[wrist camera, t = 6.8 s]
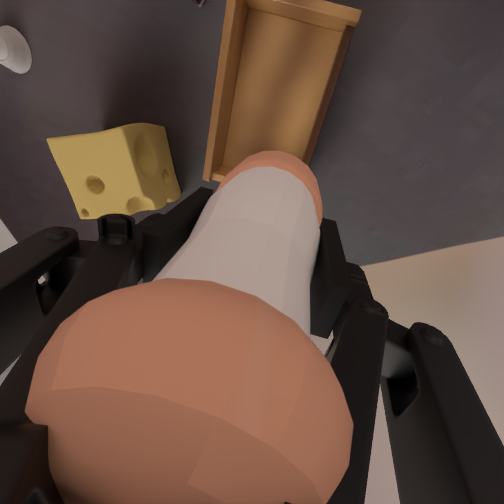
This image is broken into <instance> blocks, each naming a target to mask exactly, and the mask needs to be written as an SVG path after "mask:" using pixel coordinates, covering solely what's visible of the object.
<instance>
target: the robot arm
mask: <svg viewBox="0 0 504 504" xmlns="http://www.w3.org/2000/svg"><path fill="white" fill-rule="evenodd" d="M212 195H213V190H211V189H208V188H204V187H200V188H199V189H198V190H196V191H195V192H194V193H193V194H191V195H190V196H189V197H187V198H186V199H185V200H183V201H182V202H181V203H179V204H178V205H177V206H176V207H174V208H173V209H172V210H170V211H169V212H168V213H166V214H165V215H163V214H160V213H157V214H153V215H150V216H148V217H147V218H145V219H144V220H143V221H141V222H139V223H138V224H136V225H135V219H134V218H133V217H131V216H129V215H125V214H117V213H113V214H106V215H103V216H100V217H99V218H98V219H97V222H98V230H99V239H98V241H86V240H79V238H78V232H77V231H76V230H75V229H72V228H68V227H59V226H58V227H52V228H47V229H44V230H41V231H39V232H37V233H36V234H34V235H32V236H30V237H28V238H27V239H25V240H23V241H21V242H19V243H17V244H16V245H14V246H12V247H11V248H8V249H7V250H5V251H3V252H1V253H0V375H1V374H2V373H3V372H4V371H5V370H6V369H7V368H8V367H9V366H10V365H11V364H12V363H13V362H14V361H15V360H16V359H17V358H18V357H19V356H20V355H21V356H20V357H19V359H18V360H17V362H16V363H15V365H14V366H13V368H12V369H11V371H10V372H9V374H8V375H7V377H6V378H5V380H4V381H3V383H2V384H1V386H0V504H65V503H64V501H63V499H62V497H61V495H60V493H59V491H58V489H57V487H56V485H55V482H54V480H53V477H52V475H51V472H50V469H49V460H48V425H42V424H35V423H33V422H32V421H31V420H30V419H29V417H28V416H27V414H26V413H25V407H26V403H27V399H28V395H29V391H30V386H31V382H32V378H33V374H34V370H35V366H36V363H37V360H38V356H39V355H40V353H41V352H42V350H43V349H44V347H45V346H46V344H47V343H48V341H49V340H50V338H51V337H52V335H53V334H54V332H55V331H56V329H57V328H58V326H59V325H60V323H62V322H63V321H64V320H66V319H67V318H68V317H69V316H71V315H72V314H73V313H74V312H76V311H77V310H78V309H80V308H81V307H82V306H83V305H85V304H86V303H87V302H89V301H91V300H93V299H96V298H98V297H100V296H103V295H105V294H107V293H109V292H112V291H114V290H118V289H122V288H126V287H131V286H135V285H137V283H138V282H139V281H140V280H141V279H142V278H143V283H147V282H151V281H153V280H154V278H155V277H156V276H157V275H158V274H159V273H160V271H161V270H162V269H163V268H164V267H165V266H166V264H167V263H168V262H169V261H170V260H171V259H172V258H173V256H174V255H175V254H176V253H177V252H178V251H179V249H180V248H181V247H182V246H183V245H184V244H185V242H186V241H187V240H188V238H189V236H190V234H191V232H192V230H193V228H194V226H195V224H196V222H197V220H198V218H199V216H200V214H201V212H202V210H203V209H204V207H205V205H206V204H207V202H208V200H209V198H210V197H211V196H212ZM319 229H320V242H319V251H318V256H317V260H316V264H315V268H314V272H313V275H312V279H311V283H310V334H312V335H316V336H319V337H322V338H326V339H328V337H329V336H330V334H331V331H332V330H333V337H334V338H333V340H332V342H331V344H330V346H329V347H328V349H327V351H326V353H325V355H324V357H325V358H326V359H327V361H328V362H329V363H330V365H331V367H332V369H333V371H334V373H335V375H336V377H337V379H338V381H339V383H340V386H341V388H342V390H343V393H344V396H345V399H346V402H347V405H348V409H349V412H350V415H351V418H352V421H353V433H352V442H351V451H350V459H349V466H348V468H347V470H346V472H345V474H344V476H343V478H342V479H341V481H340V483H339V485H338V486H337V488H336V489H335V491H334V492H333V494H332V496H331V497H330V499H329V500H328V502H327V503H326V504H364V501H365V494H366V493H365V492H366V486H367V478H368V471H369V463H370V455H371V448H372V440H373V433H374V425H375V417H376V409H377V401H378V394H379V387H380V384H381V391H382V397H383V403H384V409H385V415H386V421H387V426H388V432H389V439H390V445H391V450H392V457H393V463H394V469H395V475H396V480H397V487H398V493H399V499H400V504H504V446H503V444H502V442H501V440H500V438H499V436H498V434H497V432H496V430H495V428H494V426H493V424H492V422H491V420H490V418H489V416H488V414H487V412H486V410H485V408H484V406H483V404H482V402H481V400H480V399H479V396H478V394H477V392H476V390H475V389H474V386H473V384H472V383H471V381H470V379H469V377H468V375H467V373H466V371H465V369H464V367H463V365H462V363H461V361H460V359H459V357H458V355H457V353H456V351H455V349H454V347H453V345H452V343H451V342H450V340H449V339H448V338H447V337H446V336H445V335H444V334H443V333H442V332H441V331H440V330H438V329H436V328H435V327H433V326H430V325H428V324H425V323H421V322H417V323H414V324H413V325H412V326H411V327H410V329H408V328H406V327H404V326H402V325H400V324H397V323H395V322H394V321H392V320H390V319H388V318H389V315H388V312H387V310H386V309H385V307H383V306H382V305H381V304H380V303H379V302H377V301H375V300H374V299H373V296H372V293H371V290H370V288H369V285H368V282H367V279H366V276H365V273H364V271H363V270H362V269H361V268H360V267H359V266H358V265H356V264H353V263H349V262H346V259H345V255H344V251H343V247H342V244H341V240H340V236H339V232H338V228H337V224H336V221H333V220H329V219H325V218H323V219H322V221H321V224H320V227H319ZM43 274H44V275H45V279H46V280H45V281H44V282H43V283H42V284H39V283H38V279H39V278H40V277H41V276H42V275H43ZM284 504H291V503H289V502H284Z"/></svg>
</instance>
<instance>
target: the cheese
mask: <svg viewBox="0 0 504 504" xmlns="http://www.w3.org/2000/svg"><path fill="white" fill-rule="evenodd" d="M47 142H48V144H49V147H50V150H51V152H52V154H53V157H54V159H55V161H56V163H57V165H58V167H59V169H60V171H61V173H62V175H63V177H64V180H65V182H66V184H67V186H68V188H69V191H70V193H71V196H72V198H73V200H74V203H75V206H76V208H77V211H78V214H79V216H80V218H81V219H95V218H99V217H100V216H103V215H106V214H113V213H117V214H125V215H129V216H130V215H132V214H134V213H136V212H139V211H143V210H157V209H161V208H163V207H164V206H165V205H166V202H174V201H176V200H178V199H179V198H180V196H181V191H180V187H179V184H178V181H177V178H176V175H175V171H174V166H173V162H172V158H171V153H170V149H169V145H168V140H167V135H166V131H165V127H164V126H158V125H154V124H149V123H134V124H128V125H124V126H120V127H116V128H112V129H109V130H105V131H101V132H96V133H88V134H79V135H71V136H62V137H54V138H48V139H47Z"/></svg>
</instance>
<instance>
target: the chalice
mask: <svg viewBox="0 0 504 504" xmlns="http://www.w3.org/2000/svg"><path fill="white" fill-rule="evenodd" d="M31 63H32V56H31V51H30V48H29V45H28V43H27V42H26V40H25V38H24V37H23V36H22V35H21V33H20V32H19V31H17V30H16V29H15V28H13V27H10V26H8V25H7V26H1V27H0V64H2V65H4V66H5V67H7V68H10V69H11V70H12V71H14V72H16V73H26V72H27V71H28V70H29V69H30V67H31Z"/></svg>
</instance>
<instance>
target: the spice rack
mask: <svg viewBox="0 0 504 504" xmlns="http://www.w3.org/2000/svg"><path fill="white" fill-rule="evenodd" d="M361 13H362V10H359V9H355V8H352V7H348V6H344V5H340V4H336V3H332V2H328V1H324V0H227V2H226V9H225V16H224V24H223V31H222V39H221V46H220V53H219V61H218V68H217V76H216V83H215V90H214V98H213V105H212V113H211V120H210V127H209V135H208V142H207V150H206V157H205V164H204V172H203V180H206V181H210V180H211V179H213V180H216V181H220V182H222V180H223V179H224V177H225V176H226V175H227V174H228V173H229V172H230V171H232V170H233V169H234V168H235V167H236V166H237V165H239V164H240V163H241V162H242V161H243V160H245V159H246V158H247V157H248V156H251V155H254V154H256V153H259V152H262V151H282V152H285V153H288V154H291V155H294V156H296V157H297V158H298V159H300V160H301V161H302V162H304V163H305V164H306V165H308V167H309V164H310V161H311V158H312V155H313V152H314V149H315V146H316V143H317V140H318V137H319V134H320V131H321V128H322V125H323V122H324V119H325V116H326V113H327V110H328V107H329V104H330V101H331V98H332V95H333V92H334V89H335V86H336V83H337V80H338V77H339V74H340V71H341V68H342V65H343V62H344V59H345V56H346V53H347V50H348V47H349V44H350V41H351V38H352V35H353V32H354V29H355V26H356V24H357V23H358V21H359V19H360V16H361Z"/></svg>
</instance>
